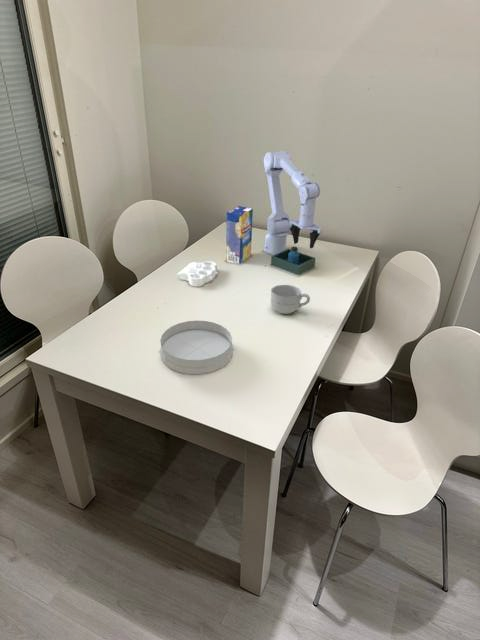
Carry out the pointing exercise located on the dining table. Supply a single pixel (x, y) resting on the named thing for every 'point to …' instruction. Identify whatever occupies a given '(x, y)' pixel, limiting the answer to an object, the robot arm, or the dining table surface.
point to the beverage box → (239, 234)
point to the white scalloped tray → (199, 273)
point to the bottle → (293, 255)
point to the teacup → (287, 298)
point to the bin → (303, 264)
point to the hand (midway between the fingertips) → (303, 245)
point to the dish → (196, 347)
